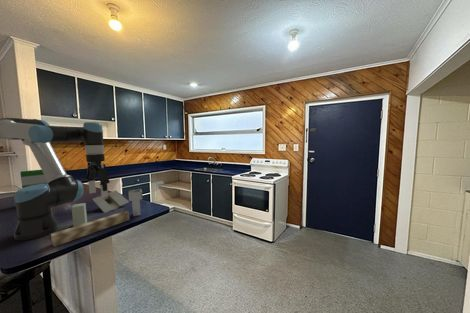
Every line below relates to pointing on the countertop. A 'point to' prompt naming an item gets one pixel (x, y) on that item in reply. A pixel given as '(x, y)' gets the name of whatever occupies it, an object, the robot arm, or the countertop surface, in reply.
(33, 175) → the hardback book
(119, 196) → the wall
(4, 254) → the countertop surface
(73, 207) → the post
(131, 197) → the cup bracket
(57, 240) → the rail
